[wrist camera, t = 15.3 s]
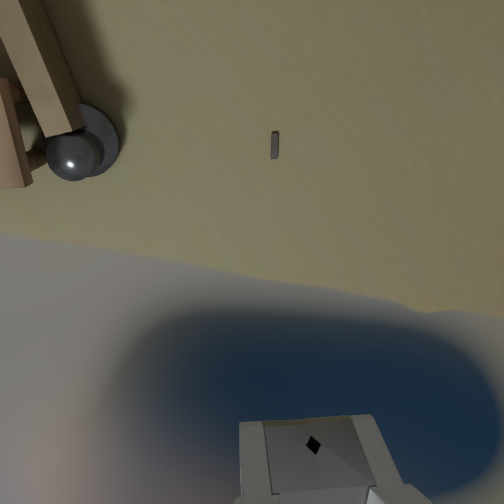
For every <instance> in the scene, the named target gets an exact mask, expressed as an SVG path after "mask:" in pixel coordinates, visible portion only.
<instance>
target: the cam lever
mask: <svg viewBox="0 0 504 504" xmlns="http://www.w3.org/2000/svg"><path fill="white" fill-rule="evenodd" d="M0 37H1V39H2V42H3V44H4V46H5V48H6V50H7V53H8V55H9V57H10V59H11V62H12V64H13V66H14V68H15V70H16V73H17V75H18V77H19V79H20V81H21V84H22V86H23V88H24V90H25V93H26V95H27V97H28V99H29V101H30V104H31V106H32V108H33V110H34V113H35V115H36V117H37V119H38V121H39V124H40V126H41V128H42V138H43V143H44V147H45V149H46V160H47V163H48V165H49V167H50V169H51V170H52V171H53V172H54V173H55V174H56V175H57V176H59V177H60V178H62V179H65V180H68V181H79V180H82V179H84V178H85V177H93V176H97V175H100V174H102V173H104V172H105V171H106V170H108V169H109V168H110V167H111V166H112V165H113V164H114V162H115V161H116V159H117V157H118V155H119V151H120V138H119V134H118V131H117V129H116V126H115V125H114V123H113V122H112V120H111V119H110V118H109V117H108V116H107V115H106V114H105V113H104V112H103V111H102V110H100V109H99V108H97V107H95V106H93V105H90V104H87V103H82V102H81V100H80V97H79V95H78V92H77V89H76V87H75V84H74V82H73V79H72V77H71V74H70V72H69V69H68V67H67V64H66V62H65V59H64V56H63V54H62V51H61V49H60V46H59V44H58V41H57V39H56V36H55V34H54V31H53V28H52V26H51V23H50V21H49V18H48V16H47V13H46V11H45V8H44V6H43V3H42V1H41V0H0Z"/></svg>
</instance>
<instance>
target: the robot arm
mask: <svg viewBox="0 0 504 504" xmlns="http://www.w3.org/2000/svg"><path fill="white" fill-rule="evenodd" d="M240 480H241V497H237V498H236V500H235V502H234V503H233V504H433V503H432V502H431V501H430V500H428V499H427V498H426V497H425V496H424V495H423V494H421V493H420V492H419V491H418V490H417V489H416V488H415V487H413V486H412V485H411V484H403V482H402V480H401V478H400V475H399V473H398V471H397V469H396V466H395V464H394V462H393V460H392V458H391V455H390V453H389V451H388V449H387V447H386V444H385V442H384V440H383V438H382V435H381V433H380V431H379V429H378V427H377V424H376V422H375V420H374V418H373V417H372V416H371V415H355V416H335V417H322V418H310V419H305V420H284V421H283V420H282V421H263V422H261V421H259V422H241V423H240Z"/></svg>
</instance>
